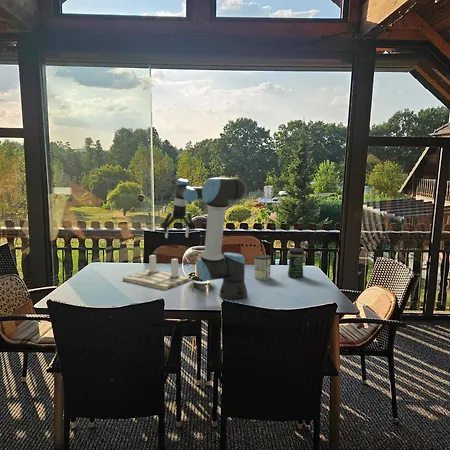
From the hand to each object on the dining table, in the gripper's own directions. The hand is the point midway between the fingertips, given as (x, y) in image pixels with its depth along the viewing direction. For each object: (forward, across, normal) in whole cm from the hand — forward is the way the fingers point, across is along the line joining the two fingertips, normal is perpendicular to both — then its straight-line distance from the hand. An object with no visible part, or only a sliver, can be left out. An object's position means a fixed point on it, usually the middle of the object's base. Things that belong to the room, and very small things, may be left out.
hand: (176, 237), depth 249 cm
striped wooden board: (+26, +12, +7) cm, 29 cm away
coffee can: (+18, -49, +29) cm, 60 cm away
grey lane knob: (+26, +11, -4) cm, 28 cm away
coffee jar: (+16, -70, +36) cm, 81 cm away
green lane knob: (+22, +3, +11) cm, 25 cm away
